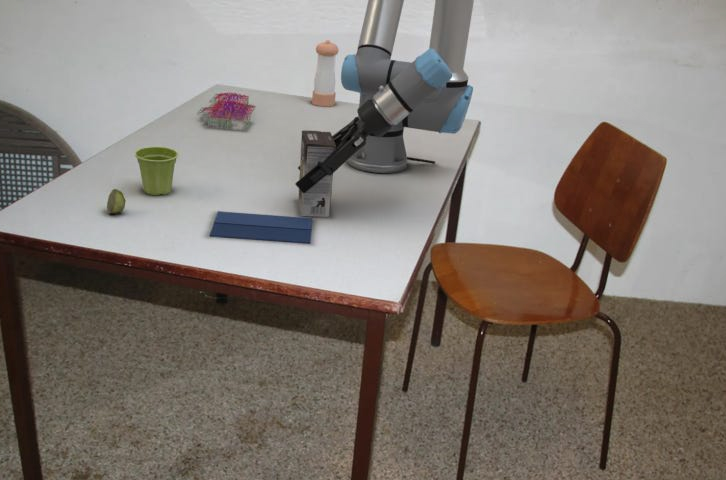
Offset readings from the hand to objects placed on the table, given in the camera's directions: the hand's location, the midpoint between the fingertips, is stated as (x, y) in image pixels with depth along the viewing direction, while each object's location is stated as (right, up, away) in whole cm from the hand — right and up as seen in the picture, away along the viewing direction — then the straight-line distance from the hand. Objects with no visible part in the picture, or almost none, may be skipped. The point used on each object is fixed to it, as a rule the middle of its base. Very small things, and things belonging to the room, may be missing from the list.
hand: (300, 180), depth 171 cm
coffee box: (+3, -6, +3) cm, 7 cm away
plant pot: (-32, -1, +7) cm, 33 cm away
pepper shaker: (+7, +38, +81) cm, 90 cm away
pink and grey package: (-21, +30, +63) cm, 72 cm away
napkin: (-8, -11, -8) cm, 16 cm away
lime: (-39, -8, -5) cm, 40 cm away
